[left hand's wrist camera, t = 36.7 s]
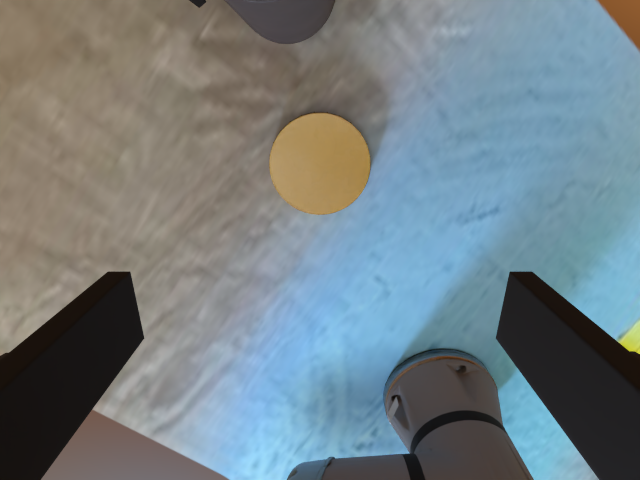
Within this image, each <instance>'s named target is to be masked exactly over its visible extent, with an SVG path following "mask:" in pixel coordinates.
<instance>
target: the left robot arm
mask: <svg viewBox="0 0 640 480" xmlns="http://www.w3.org/2000/svg"><path fill="white" fill-rule="evenodd" d="M143 339H144V335H143V330H142V326H141V321H140V316H139V311H138V306H137V302H136V297H135V292H134V287H133V283H132V278H131V273H130V272H107V273H106V274H105V275H103V276H102V277H101V278H100V279H99V280H97V281H96V282H95V283H94V284H92V285H91V286H90V287H89V288H88V289H86V290H85V291H84V292H83V293H81V294H80V295H79V296H78V297H77V298H75V299H74V300H73V301H72V302H70V303H69V304H68V305H67V306H66V307H64V308H63V309H62V310H61V311H60V312H58V313H57V314H56V315H55V316H53V317H52V318H51V319H50V320H49V321H47V322H46V323H45V324H44V325H42V326H41V327H40V328H39V329H38V330H36V331H35V332H34V333H33V334H31V335H30V336H29V337H28V338H27V339H25V340H24V341H23V342H22V343H20V344H19V345H18V346H17V347H16V348H14V349H13V350H12V351H11V352H9V353H5V354H3V355H1V356H0V480H41V478H42V477H43V476H44V474H45V473H46V472H47V470H48V469H49V468H50V466H51V465H52V463H53V462H54V461H55V459H56V458H57V457H58V455H59V454H60V452H61V451H62V450H63V448H64V447H65V446H66V444H67V443H68V442H69V440H70V439H71V437H72V436H73V435H74V433H75V432H76V431H77V429H78V428H79V427H80V425H81V424H82V422H83V421H84V420H85V418H86V417H87V416H88V414H89V413H90V412H91V410H92V409H93V407H94V406H95V405H96V403H97V402H98V401H99V399H100V398H101V397H102V395H103V394H104V392H105V391H106V390H107V388H108V387H109V386H110V384H111V383H112V381H113V380H114V379H115V377H116V376H117V375H118V373H119V372H120V371H121V369H122V368H123V366H124V365H125V364H126V362H127V361H128V360H129V358H130V357H131V356H132V354H133V353H134V351H135V350H136V349H137V347H138V346H139V345H140V343H141V342H142V340H143ZM496 339H497V340H498V342H499V343H500V345H501V346H502V347H503V349H504V350H505V351H506V353H507V354H508V356H509V357H510V358H511V360H512V361H513V362H514V364H515V365H516V366H517V368H518V369H519V371H520V372H521V373H522V375H523V376H524V377H525V379H526V380H527V381H528V383H529V384H530V386H531V387H532V388H533V390H534V391H535V392H536V394H537V395H538V397H539V398H540V399H541V401H542V402H543V403H544V405H545V406H546V407H547V409H548V410H549V412H550V413H551V414H552V416H553V417H554V418H555V420H556V421H557V422H558V424H559V425H560V427H561V428H562V429H563V431H564V432H565V433H566V435H567V436H568V437H569V439H570V440H571V442H572V443H573V444H574V446H575V447H576V448H577V450H578V451H579V453H580V454H581V455H582V457H583V458H584V459H585V461H586V462H587V463H588V465H589V466H590V468H591V469H592V470H593V472H594V473H595V474H596V476H597V477H598V478H599V480H640V354H638V353H636V352H629V351H628V350H627V349H626V348H624V347H623V346H622V345H621V344H620V343H618V342H617V341H616V340H615V339H613V338H612V337H611V336H610V335H609V334H607V333H606V332H605V331H604V330H602V329H601V328H600V327H599V326H598V325H596V324H595V323H594V322H593V321H591V320H590V319H589V318H588V317H587V316H585V315H584V314H583V313H582V312H580V311H579V310H578V309H577V308H576V307H574V306H573V305H572V304H571V303H570V302H568V301H567V300H566V299H565V298H563V297H562V296H561V295H560V294H559V293H557V292H556V291H555V290H554V289H552V288H551V287H550V286H549V285H548V284H546V283H545V282H544V281H543V280H541V279H540V278H539V277H538V276H537V275H535V274H534V273H533V272H510V273H509V278H508V283H507V287H506V292H505V297H504V302H503V306H502V311H501V316H500V321H499V326H498V330H497V335H496ZM383 397H384V405H385V409H386V414H387V417H388V420H389V422H390V423H391V425H392V426H393V428H394V429H395V431H396V432H397V434H398V435H399V437H400V439H401V440H402V442H403V443H404V445H405V446H406V448H407V449H408V451H409V452H410V454H396V455H382V456H367V457H353V458H339V459H335V457H329V458H328V459H326V460H318V461H311V462H304V463H301V464H299V465H297V466H296V467H295V468H294V469H293V470H292V471H291V473H290V474H289V476H288V479H287V480H534V479H533V478H532V476H531V474H530V472H529V471H528V469H527V467H526V465H525V464H524V462H523V460H522V458H521V457H520V455H519V453H518V451H517V450H516V448H515V446H514V444H513V443H512V441H511V439H510V437H509V436H508V434H507V432H506V430H505V428H504V427H503V423H502V417H501V411H500V404H499V398H498V391H497V387H496V384H495V382H494V380H493V378H492V377H491V375H490V374H489V372H488V370H487V369H486V367H485V366H484V365H483V364H482V363H481V362H480V361H479V360H477V359H476V358H474V357H473V356H471V355H469V354H466V353H464V352H460V351H455V350H433V351H428V352H424V353H421V354H418V355H416V356H413V357H411V358H409V359H408V360H406V361H405V362H403V363H402V364H401V365H399V366H398V367H397V368H396V369H395V370H394V371H393V373H392V374H391V375H390V377H389V379H388V380H387V383H386V385H385V388H384V395H383Z"/></svg>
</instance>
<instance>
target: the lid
mask: <svg viewBox="0 0 640 480" xmlns="http://www.w3.org/2000/svg"><path fill="white" fill-rule="evenodd" d="M273 143H274V144H273V146H272V149H271V154H270V162H269V165H270V167H269V168H270V174H271V178H272V181H273V184H274V186H275V188H276V190H277V191H278V193H279V194H280V195H281V197H282V198H283V199H284V200H285V201H286V202H287V203H288V204H290V205H291V206H293V207H294V208H296V209H298V210H300V211H303V212H306V213H310V214H317V215H322V214H330V213H334V212H337V211H340V210H342V209H344V208H346V207H347V206H349V205H350V204H351V203H353V202H354V201H355V200H356V199H357V198H358V196H359V195H360V194H361V193H362V191H363V189H364V188H365V186H366V183H367V181H368V177H369V173H370V154H369V150H368V147H367V143H366V142H365V140H364V138H363V136H362V135H361V132H360V131H358V130H357V129H356V128H355V127H354V126H353V125H352V123H351V122H350V123H349V122H348V121H347V120H345V119H343V118H342V117H341V116H337V115H334V114H330V113H328V112H327V113H324V112H316V113H315V112H314V113H309V114H306V115H303V116H302V115H301V116H300V117H298V118H296V119H295V120H293V121H292V122H291V121H290V122H289V124H288V125H287V126H286V127H285V128H284V129H283V130H281V131H280V133H279V135H278V136H277V138H276V140H275V141H274V142H273Z"/></svg>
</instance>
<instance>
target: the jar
mask: <svg viewBox="0 0 640 480" xmlns="http://www.w3.org/2000/svg"><path fill="white" fill-rule="evenodd" d="M225 1H226V2H227V3H228V4H229V5H230V6H231V7H232V8H233V9H234V10H235V11H236V12H237V13H238V15H239V16H240V17H241V18H242V19H243V20H244V21H245V22H246V23H247V24H248V25H249V26H250V27H251V28H252V29H253V30H254V31H255V32H257V33H258V34H259V35H261V36H262V37H264V38H266V39H268V40H270V41H273V42H277V43H283V44H291V43H297V42H300V41H303V40H306V39H307V38H309V37H311V36H312V35H314V34H315V33H316V32H317V31H318V30H319V29H320V28H321V27H322V26H323V25H324V24H325V22H326V21H327V19H328V17H329V15H330V13H331V11H332V9H333V5H334V2H335V0H225Z"/></svg>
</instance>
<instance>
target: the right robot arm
mask: <svg viewBox="0 0 640 480" xmlns="http://www.w3.org/2000/svg"><path fill="white" fill-rule="evenodd" d="M190 1H191V2H192V3H194V4H195V5H196V6H198V7H199V8H200V7H201V6H202V5H203V4H204V3H206V1H205V0H190Z"/></svg>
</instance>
